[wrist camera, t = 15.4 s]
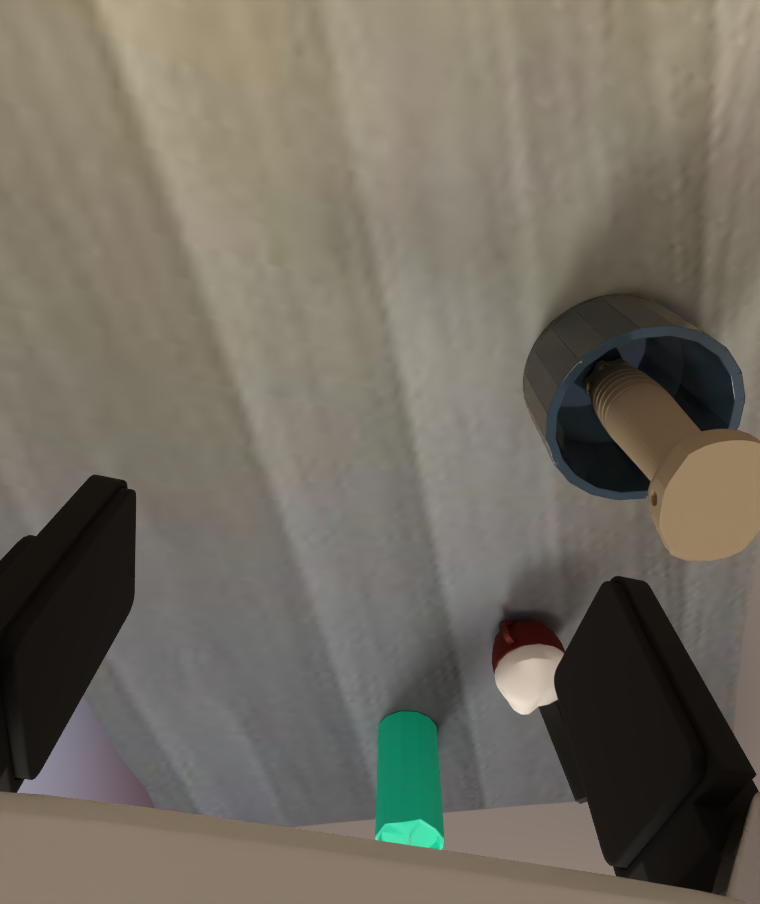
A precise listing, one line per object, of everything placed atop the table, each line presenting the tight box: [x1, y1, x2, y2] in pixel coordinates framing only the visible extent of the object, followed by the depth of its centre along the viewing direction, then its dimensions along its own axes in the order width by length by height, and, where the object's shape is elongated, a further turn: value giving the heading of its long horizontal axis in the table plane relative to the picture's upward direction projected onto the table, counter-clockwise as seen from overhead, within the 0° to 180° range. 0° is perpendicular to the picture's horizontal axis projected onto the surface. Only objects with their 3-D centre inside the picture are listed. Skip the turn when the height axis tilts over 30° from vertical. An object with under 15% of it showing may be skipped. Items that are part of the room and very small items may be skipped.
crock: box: [523, 294, 745, 500], centre depth 36 cm, size 11×11×7 cm
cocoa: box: [492, 620, 587, 804], centre depth 46 cm, size 10×6×12 cm, turn 11°
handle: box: [584, 358, 760, 561], centre depth 32 cm, size 5×6×15 cm
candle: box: [375, 711, 444, 850], centre depth 52 cm, size 6×6×12 cm
